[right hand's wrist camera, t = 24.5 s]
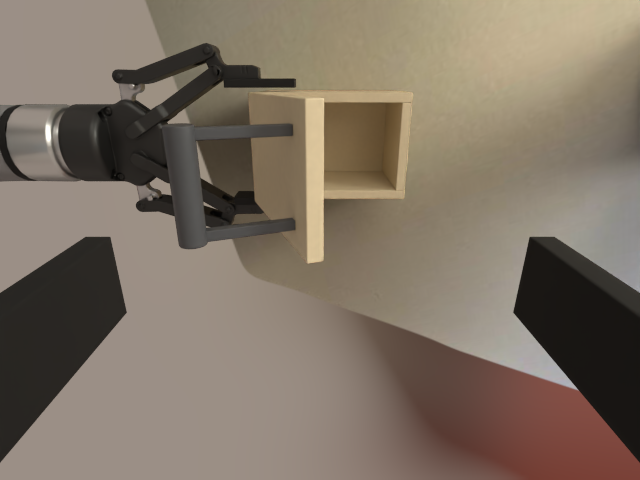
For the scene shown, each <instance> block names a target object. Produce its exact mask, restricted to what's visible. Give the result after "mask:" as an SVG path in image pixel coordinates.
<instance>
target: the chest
mask: <svg viewBox="0 0 640 480" xmlns="http://www.w3.org/2000/svg"><path fill="white" fill-rule="evenodd" d="M261 92H262V93H273V94H284V95H295V96H306V97H317V98H324V199H404V192H405V191H404V190H405V182H406V170H407V158H408V146H409V135H410V123H411V111H412V99H413V93H412V92H404V91H394V90H268V91H261Z"/></svg>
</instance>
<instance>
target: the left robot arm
mask: <svg viewBox="0 0 640 480" xmlns="http://www.w3.org/2000/svg"><path fill="white" fill-rule="evenodd" d="M205 63H207V65H208V68H209V69H207V70H206V71H205V72H203V73H202V74H201V75H199V76H198V77H197V78H195V79H194V80H193V81H191V82H190V83H189V84H187V85H186V86H184V87H183V88H182V89H180V90H179V91H178V92H176V93H175V94H174V95H172V96H171V97H170V98H168V99H167V100H166V101H164V102H163V103H162V104H160V105H158V106H156V107H155V108H153V109H152V110H150V109H149V108H147V107H146V106H144V105H143V104H141V103H140V102H138V101H137V100H136V95H137V94H138V93H141V92H143V91H144V89H145V84H150V83H154V82H157V81H160V80H163V79H165V78H168V77H171V76H173V75H176V74H178V73H181V72H184V71H186V70H189V69H192V68H194V67H197V66H199V65H202V64H205ZM112 77H113V80H114V81H115V82H116V83H119V88H120V94H121V101H119V102H117V103H116V104H76V105H72V106H69V105H50V104H48V105H45V104H44V105H43V104H40V105H39V104H25V105H0V181H80V180H84V181H127V182H130V183H132V184H134V185H137V190H138V194H139V199H140V201H138V202H137V203H136V208H137V209H138V210H139V211H141V212H156V211H159V212H162V213H166V214H169V215H172V216H175V215H174V208H173V201H172V196H171V195H165V194H161V191H160V190H158V189H154V188H152V187H151V186H150V182H151V181H152V180H154V179H155V178H156V177H157V178H159V179H161V180H163V181H164V182H166V183H170V180H169V173H168V167H167V160H166V153H165V146H164V139H163V132H162V126H163V125H166V124H168V123H167V122H168V121H169V120H170V119H172V118H173V117H175V116H176V115H177V114H178V113H179V112H180V111H182V110H183V109H184V108H186V107H187V106H189V105H190V104H191V103H193V102H194V101H196V100H197V99H198V98H200V97H201V96H202V95H204V94H205V93H207V92H208V91H209V90H211V89H212V88H213V87H215V86H216V85H218V84H219V83H220V82H222V81H223V80H224V88H228V87H296V79H261V76H260V68H258V67H256V66H253V65H226V64H225V63H224V62H223V60H222V58H221V56H220V51H219V49H218V48H217V47H216V46H214V45H211V44H208V43H205V44H202V45H199V46H197V47H194V48H191V49H189V50H186V51H184V52H181V53H179V54H176V55H173V56H171V57H168V58H166V59H163V60H161V61H158V62H155V63H153V64H150V65H148V66H145V67H143V68H140V69H138V70H115V71H113V73H112ZM200 179H201V178H200ZM201 188H202V196H203V201H204V202H205V203H207V204H209V205H211V206H212V207H214V208H216V209H213V208H210V207H207V206H204V214H205V222H206V226H209V227H219V226H227V225H232V223H233V221H234V217H235V215H236V214H262V213H264V211H263V210H262V209H261V208H260V207H259V205H258V204H257V203H256V202H255V195H254V191H239V192H238V193H237V194H236V196H235V197H232V196H230V195H229V194H227V193H225V192H224V191H222V190H220V189H218V188H217V187H215V186H213V185H212V184H210V183H208V182H206V181H205V180H203V179H201ZM217 209H218V210H217Z"/></svg>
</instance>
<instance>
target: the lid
mask: <svg viewBox="0 0 640 480" xmlns="http://www.w3.org/2000/svg"><path fill="white" fill-rule="evenodd" d="M248 100H249V116H250V125H228V126H199V127H194V125H193V124H166V125H163V126H162V132H163V139H164V146H165V153H166V160H167V167H168V173H169V180H170V187H171V194H172V201H173V208H174V215H175V221H176V228H177V235H178V242H179V246H180V247H181V248H184V249H196V248H201V247H203V246H205V245H206V244H207V243H208V242H210V241H218V240H225V239H233V238H240V237H248V236H255V235H263V234H270V233H278V232H281V233H282V234H283V235H284V237H285V238H286V239H287V240H288V241H289V243H290V244H291V245H292V246H293V247H294V249H295V250H296V251H297V252H298V253H299V255H300V256H301V257H302V258H303V259H304V261H305V262H306V263H307V264H309V263H315V262H321V261H323V227H324V98H317V97H306V96H295V95H284V94H273V93H262V92H249V93H248ZM241 138H251V148H252V163H253V179H254V195H255V202H256V203H257V204H258V205H259V207H260V208H261V209H262V210H263V211H264V213H265V214H266V215H267V216H268V217H269V219H270V220H268V221H260V222H252V223H243V224H235V225H227V226H219V227H210V228H206V222H205V214H204V205H203V196H202V188H201V179H200V171H199V162H198V153H197V145H196V141H198V140H219V139H241Z"/></svg>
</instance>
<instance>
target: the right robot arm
mask: <svg viewBox="0 0 640 480" xmlns="http://www.w3.org/2000/svg"><path fill="white" fill-rule="evenodd" d="M126 313H127V312H126V307H125V303H124V298H123V294H122V289H121V285H120V280H119V275H118V271H117V266H116V261H115V257H114V252H113V248H112V243H111V238H110V237H85V238H83V239H82V240H80V241H79V242H77V243H76V244H74V245H73V246H71V247H70V248H68V249H67V250H65V251H64V252H62V253H61V254H59V255H58V256H56V257H54V258H53V259H51V260H50V261H48V262H47V263H45V264H44V265H42V266H41V267H39V268H38V269H36V270H35V271H33V272H32V273H30V274H29V275H27V276H26V277H24V278H22V279H21V280H19V281H18V282H16V283H15V284H13V285H12V286H10V287H9V288H7V289H6V290H4V291H3V292H1V293H0V462H1V461H2V460H3V459H4V457H5V456H6V455H7V454H8V453H9V451H10V450H11V449H12V448H13V447H14V446H15V444H16V443H17V442H18V441H19V440H20V438H21V437H22V436H23V435H24V434H25V432H26V431H27V430H28V429H29V428H30V427H31V425H32V424H33V423H34V422H35V421H36V419H37V418H38V417H39V416H40V415H41V413H42V412H43V411H44V410H45V409H46V408H47V406H48V405H49V404H50V403H51V402H52V400H53V399H54V398H55V397H56V396H57V394H58V393H59V392H60V391H61V390H62V389H63V387H64V386H65V385H66V384H67V383H68V381H69V380H70V379H71V378H72V377H73V376H74V374H75V373H76V372H77V371H78V370H79V368H80V367H81V366H82V365H83V364H84V362H85V361H86V360H87V359H88V358H89V356H90V355H91V354H92V353H93V352H94V351H95V349H96V348H97V347H98V346H99V345H100V343H101V342H102V341H103V340H104V339H105V338H106V336H107V335H108V334H109V333H110V332H111V330H112V329H113V328H114V327H115V326H116V324H117V323H118V322H119V321H120V320H121V319H122V317H123V316H124V315H125V314H126ZM513 313H514V314H515V315H516V316H517V317H518V319H519V320H520V321H521V322H522V323H523V325H524V326H525V327H526V328H527V329H528V330H529V332H530V333H531V334H532V335H533V336H534V338H535V339H536V340H537V341H538V342H539V344H540V345H541V346H542V347H543V348H544V349H545V351H546V352H547V353H548V354H549V355H550V357H551V358H552V359H553V360H554V361H555V362H556V364H557V365H558V366H559V367H560V368H561V370H562V371H563V372H564V373H565V374H566V376H567V377H568V378H569V379H570V380H571V381H572V383H573V384H574V385H575V386H576V387H577V389H578V390H579V391H580V392H581V393H582V395H583V396H584V397H585V398H586V399H587V400H588V402H589V403H590V404H591V405H592V406H593V408H594V409H595V410H596V411H597V412H598V413H599V415H600V416H601V417H602V418H603V419H604V421H605V422H606V423H607V424H608V425H609V426H610V428H611V429H612V430H613V431H614V432H615V434H616V435H617V436H618V437H619V438H620V440H621V441H622V442H623V443H624V444H625V446H626V447H627V448H628V449H629V450H630V451H631V453H632V454H633V455H634V456H635V457H636V458H637V460H638V461H639V462H640V293H639V292H637V291H636V290H634V289H633V288H631V287H630V286H628V285H627V284H625V283H624V282H622V281H621V280H619V279H618V278H616V277H615V276H613V275H611V274H610V273H608V272H607V271H605V270H604V269H602V268H601V267H599V266H598V265H596V264H595V263H593V262H592V261H590V260H589V259H587V258H586V257H584V256H583V255H581V254H579V253H578V252H576V251H575V250H573V249H572V248H570V247H569V246H567V245H566V244H564V243H563V242H561V241H560V240H558V239H557V238H555V237H530V238H529V243H528V247H527V252H526V257H525V261H524V266H523V270H522V275H521V280H520V284H519V289H518V294H517V298H516V303H515V307H514V312H513Z"/></svg>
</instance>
